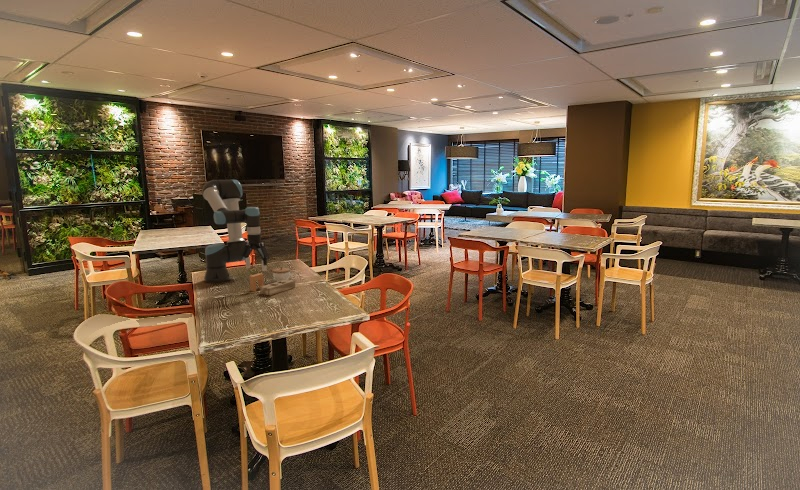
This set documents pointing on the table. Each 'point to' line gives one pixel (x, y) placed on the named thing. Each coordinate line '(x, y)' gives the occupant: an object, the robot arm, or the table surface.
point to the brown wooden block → (277, 287)
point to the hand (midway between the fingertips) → (256, 269)
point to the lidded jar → (281, 274)
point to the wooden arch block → (253, 280)
